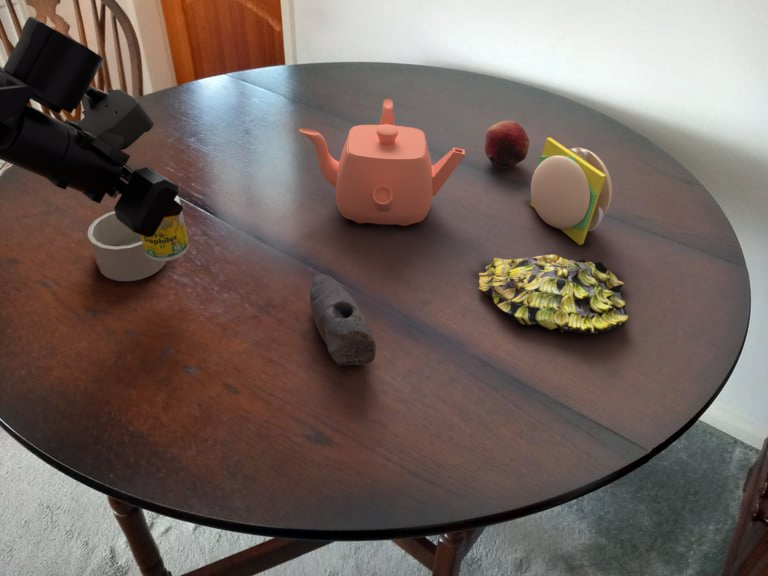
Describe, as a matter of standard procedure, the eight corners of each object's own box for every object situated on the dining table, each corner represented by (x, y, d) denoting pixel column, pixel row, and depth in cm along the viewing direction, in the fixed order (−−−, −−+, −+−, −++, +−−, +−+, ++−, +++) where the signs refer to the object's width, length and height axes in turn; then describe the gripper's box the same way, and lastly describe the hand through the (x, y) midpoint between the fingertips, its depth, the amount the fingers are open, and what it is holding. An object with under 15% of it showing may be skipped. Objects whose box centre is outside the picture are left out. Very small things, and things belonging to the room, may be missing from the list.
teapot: (301, 203, 99) (297, 123, 90) (384, 166, 109) (388, 90, 100) (379, 258, 89) (384, 174, 80) (462, 211, 99) (475, 132, 90)
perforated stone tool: (299, 301, 81) (297, 260, 77) (337, 293, 83) (337, 252, 78) (336, 385, 71) (335, 343, 67) (378, 373, 73) (381, 332, 68)
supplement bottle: (190, 235, 80) (178, 170, 74) (187, 261, 76) (175, 195, 70) (146, 238, 79) (131, 172, 73) (142, 264, 75) (124, 197, 69)
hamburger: (609, 235, 96) (633, 167, 88) (568, 248, 93) (589, 179, 85) (558, 196, 104) (576, 130, 96) (519, 207, 101) (534, 141, 93)
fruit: (523, 156, 114) (532, 116, 108) (526, 178, 108) (535, 136, 103) (480, 152, 114) (487, 112, 109) (481, 174, 108) (489, 132, 103)
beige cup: (95, 285, 82) (84, 252, 78) (101, 243, 89) (91, 211, 85) (167, 276, 84) (160, 244, 80) (168, 236, 90) (161, 205, 87)
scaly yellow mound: (465, 324, 81) (467, 278, 78) (486, 277, 95) (488, 237, 92) (628, 345, 75) (636, 296, 72) (624, 292, 89) (631, 249, 87)
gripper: (142, 107, 56) (250, 172, 69) (44, 49, 65) (156, 116, 78) (82, 214, 56) (200, 258, 70) (-8, 141, 65) (113, 192, 79)
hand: (167, 201), depth 74 cm, fingers closed on supplement bottle, 5 cm apart
